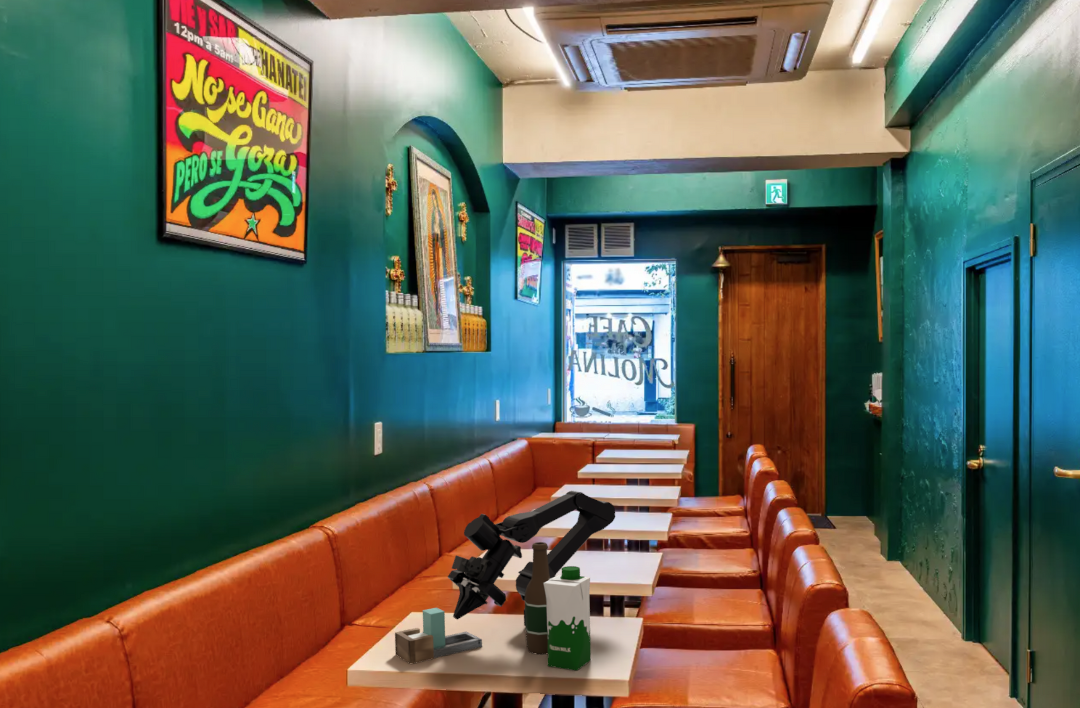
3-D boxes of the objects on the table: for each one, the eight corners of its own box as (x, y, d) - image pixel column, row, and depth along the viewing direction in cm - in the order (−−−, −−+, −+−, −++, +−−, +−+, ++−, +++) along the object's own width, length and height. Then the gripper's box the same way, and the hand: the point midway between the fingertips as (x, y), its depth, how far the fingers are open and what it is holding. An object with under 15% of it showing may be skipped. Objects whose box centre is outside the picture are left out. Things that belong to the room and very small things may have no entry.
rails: (466, 639, 208) (466, 631, 208) (482, 646, 201) (481, 639, 201) (418, 649, 201) (418, 641, 201) (433, 658, 194) (433, 650, 194)
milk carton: (596, 659, 191) (593, 567, 191) (578, 673, 183) (575, 577, 183) (560, 654, 195) (557, 564, 195) (541, 667, 187) (538, 573, 187)
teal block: (437, 646, 201) (436, 607, 202) (445, 651, 198) (444, 611, 198) (405, 654, 197) (404, 613, 197) (413, 658, 194) (412, 617, 194)
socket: (418, 649, 201) (417, 627, 201) (433, 658, 194) (433, 636, 194) (395, 654, 198) (394, 632, 198) (410, 664, 191) (410, 641, 191)
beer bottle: (556, 655, 194) (553, 547, 194) (522, 654, 195) (519, 546, 196) (562, 644, 202) (559, 539, 202) (529, 643, 203) (526, 539, 203)
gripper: (453, 536, 213) (413, 590, 207) (492, 548, 197) (450, 607, 191) (482, 563, 217) (445, 616, 211) (523, 577, 201) (483, 635, 195)
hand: (454, 618), depth 202 cm, fingers closed
